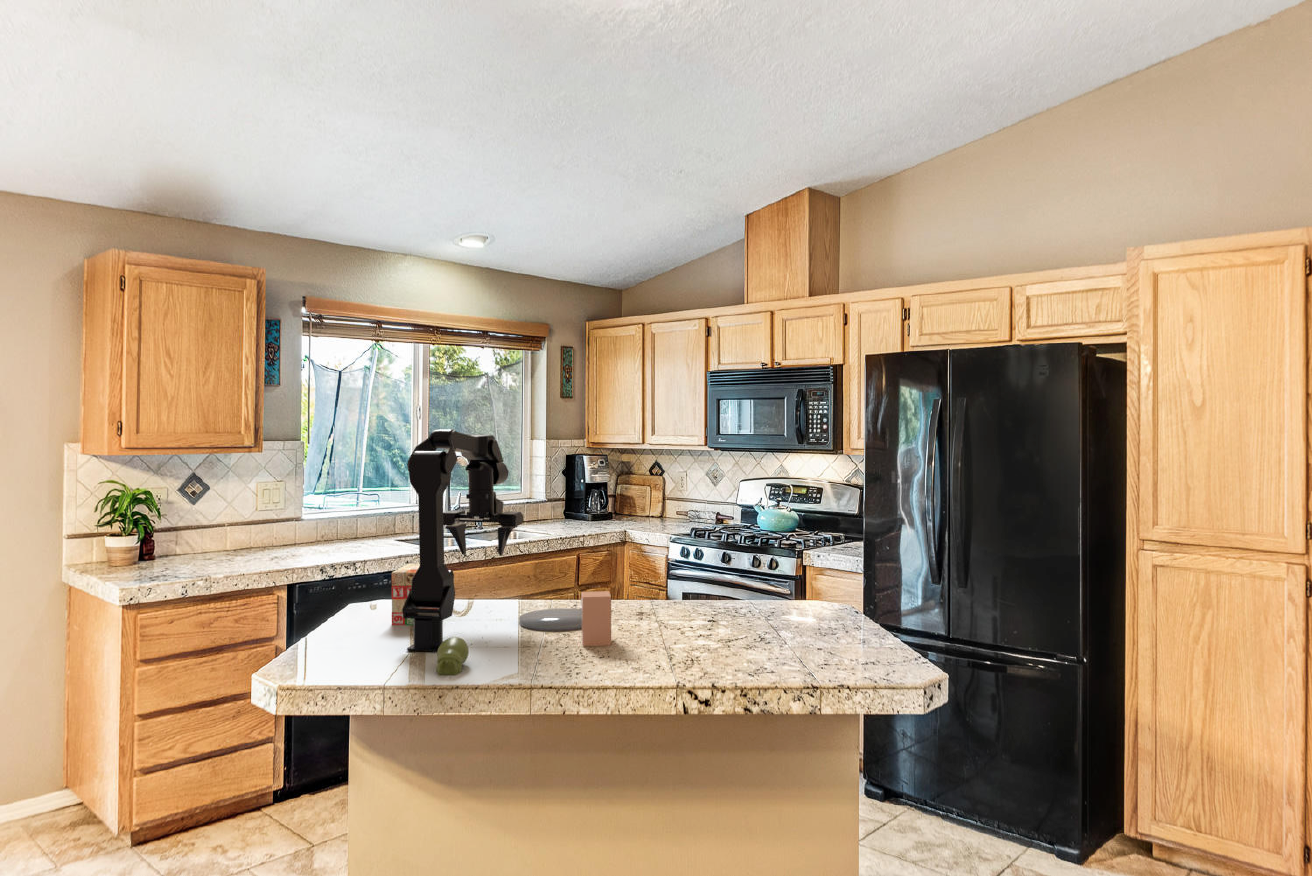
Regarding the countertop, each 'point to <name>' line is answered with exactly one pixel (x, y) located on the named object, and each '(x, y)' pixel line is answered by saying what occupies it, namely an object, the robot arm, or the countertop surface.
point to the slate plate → (552, 620)
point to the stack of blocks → (402, 592)
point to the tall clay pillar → (596, 618)
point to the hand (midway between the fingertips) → (482, 555)
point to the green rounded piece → (451, 656)
